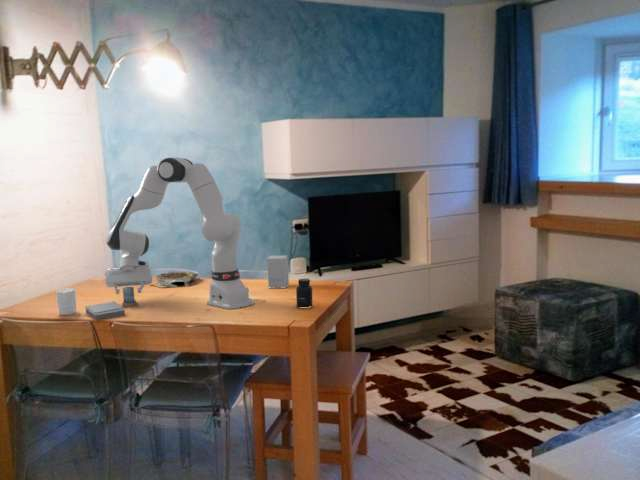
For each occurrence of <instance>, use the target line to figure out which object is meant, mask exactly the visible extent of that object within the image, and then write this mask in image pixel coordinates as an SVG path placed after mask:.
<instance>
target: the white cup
mask: <svg viewBox="0 0 640 480" xmlns="http://www.w3.org/2000/svg"><path fill="white" fill-rule="evenodd" d="M76 291H77V290H76V288H73V287H68V288H67V287H66V288H60V289H57V290H55V297H56V303H57V308H58V314H59V315H61V316H68V315H74V314H76V312H77V292H76Z"/></svg>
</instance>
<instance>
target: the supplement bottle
mask: <svg viewBox="0 0 640 480" xmlns="http://www.w3.org/2000/svg"><path fill="white" fill-rule="evenodd" d="M310 280H311V279H309V278H299V279H298V283H297V284H298V285H297V286H296V288H295V291H296V292H295V293H296V294H295V295H296V308H297V307H309V306H312V307H313V287H312V285H310V284H311V281H310Z"/></svg>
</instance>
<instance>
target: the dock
mask: <svg viewBox="0 0 640 480" xmlns="http://www.w3.org/2000/svg"><path fill="white" fill-rule="evenodd" d="M84 308H85V314H87V315H88V316H90V317H91V318H93V319H94V320H95V319H98V320H103V319H102V318H104V319H108V318H113V317H114V318H115V317H119V316H124V315H126V314H125V313H126V312H125V310H126V307H123V306H122V305H120V304H119V303H118V302H115V301H108V302H102V303H97V304H96V303H95V304H91V305H87V306H85V307H84Z"/></svg>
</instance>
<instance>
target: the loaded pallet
mask: <svg viewBox="0 0 640 480" xmlns="http://www.w3.org/2000/svg"><path fill="white" fill-rule="evenodd" d="M134 290H135V289H134V286H124V287H122V297H123V302H122V305H121V306H122V307H124V308H132V307H134V308H135V306H136V304H137V299H135V291H134Z"/></svg>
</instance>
